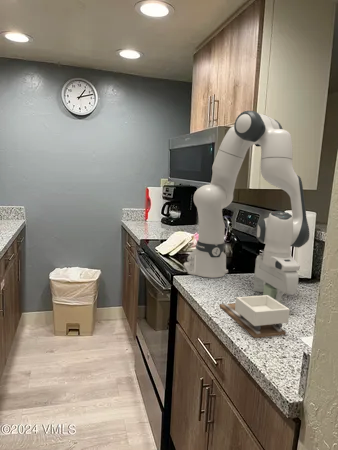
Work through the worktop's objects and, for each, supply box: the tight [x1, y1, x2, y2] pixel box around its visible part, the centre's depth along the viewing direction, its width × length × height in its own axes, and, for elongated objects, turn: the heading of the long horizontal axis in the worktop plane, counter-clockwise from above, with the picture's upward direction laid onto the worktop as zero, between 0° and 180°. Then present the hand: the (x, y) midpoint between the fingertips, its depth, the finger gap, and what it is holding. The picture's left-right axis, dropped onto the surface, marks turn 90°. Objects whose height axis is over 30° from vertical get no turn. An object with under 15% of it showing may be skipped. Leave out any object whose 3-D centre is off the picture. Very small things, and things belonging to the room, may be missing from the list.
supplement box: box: [253, 255, 264, 293], centre depth 135 cm, size 7×7×13 cm
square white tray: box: [235, 294, 291, 330], centre depth 101 cm, size 11×11×6 cm
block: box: [262, 285, 283, 304], centre depth 121 cm, size 4×4×6 cm
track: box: [219, 302, 287, 339], centre depth 107 cm, size 22×10×1 cm, turn 18°
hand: (272, 297), depth 122 cm, fingers closed on block, 4 cm apart
